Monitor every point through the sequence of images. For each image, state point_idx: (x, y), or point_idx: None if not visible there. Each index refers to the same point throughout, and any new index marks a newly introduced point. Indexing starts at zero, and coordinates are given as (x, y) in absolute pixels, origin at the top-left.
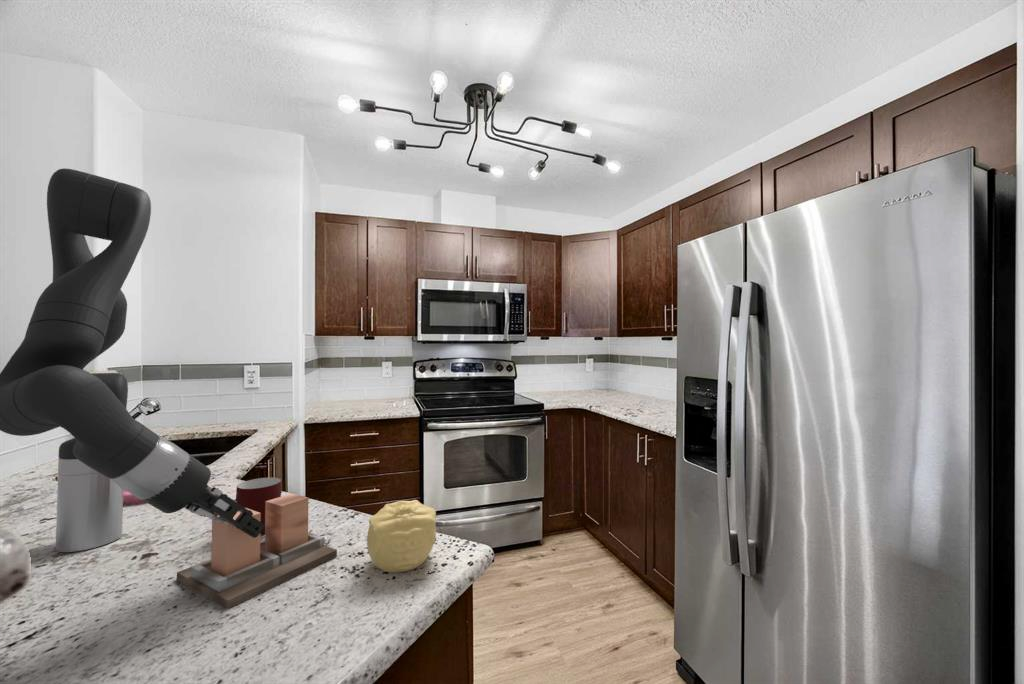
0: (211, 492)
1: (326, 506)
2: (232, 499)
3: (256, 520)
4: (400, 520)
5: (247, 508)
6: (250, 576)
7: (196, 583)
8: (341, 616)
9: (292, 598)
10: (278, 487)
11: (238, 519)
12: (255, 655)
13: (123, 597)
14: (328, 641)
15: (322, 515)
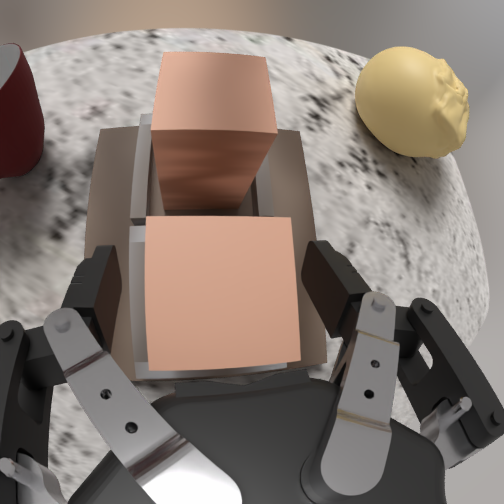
0: (443, 486)
1: (66, 42)
2: (397, 365)
3: (344, 265)
4: (468, 114)
5: (169, 216)
6: None
7: (190, 379)
8: (444, 259)
9: (372, 273)
10: (25, 60)
11: (408, 351)
12: None
13: (97, 451)
14: (463, 295)
15: (89, 57)
